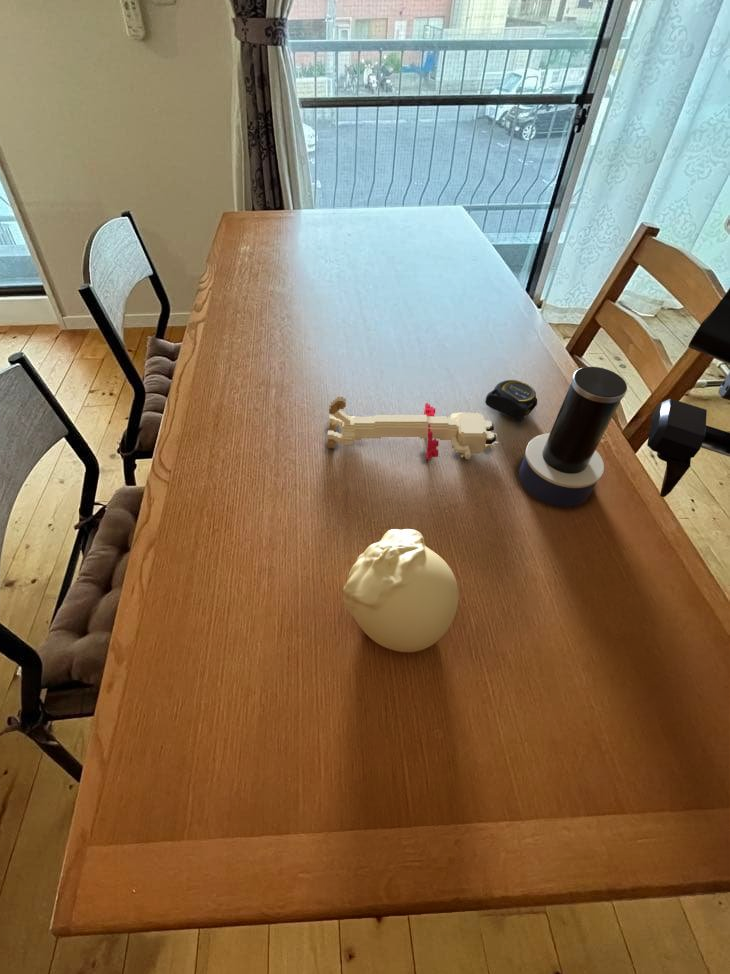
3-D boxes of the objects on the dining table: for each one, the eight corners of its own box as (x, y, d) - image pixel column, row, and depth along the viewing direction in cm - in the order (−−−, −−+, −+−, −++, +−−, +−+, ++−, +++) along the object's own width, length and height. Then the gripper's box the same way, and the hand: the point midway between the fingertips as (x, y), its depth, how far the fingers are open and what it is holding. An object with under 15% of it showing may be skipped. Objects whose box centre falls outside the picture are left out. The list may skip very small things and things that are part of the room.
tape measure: (480, 409, 90) (485, 390, 87) (503, 391, 93) (509, 372, 91) (517, 429, 87) (523, 410, 84) (539, 409, 90) (546, 391, 87)
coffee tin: (598, 470, 81) (610, 448, 77) (584, 518, 74) (596, 496, 71) (527, 446, 84) (536, 424, 81) (509, 490, 78) (517, 467, 75)
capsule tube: (595, 474, 74) (636, 397, 65) (549, 474, 74) (584, 397, 64) (579, 442, 78) (615, 366, 69) (535, 442, 78) (566, 366, 69)
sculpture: (378, 557, 69) (386, 501, 62) (465, 606, 65) (486, 552, 57) (325, 625, 63) (327, 571, 55) (419, 685, 58) (435, 636, 50)
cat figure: (327, 466, 82) (500, 467, 80) (323, 421, 76) (511, 421, 73) (332, 422, 89) (491, 422, 86) (328, 378, 83) (500, 376, 80)
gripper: (920, 380, 50) (800, 492, 61) (697, 319, 55) (625, 434, 66) (950, 458, 43) (809, 568, 54) (692, 381, 48) (613, 496, 59)
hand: (707, 510), depth 59 cm, fingers open, 9 cm apart
